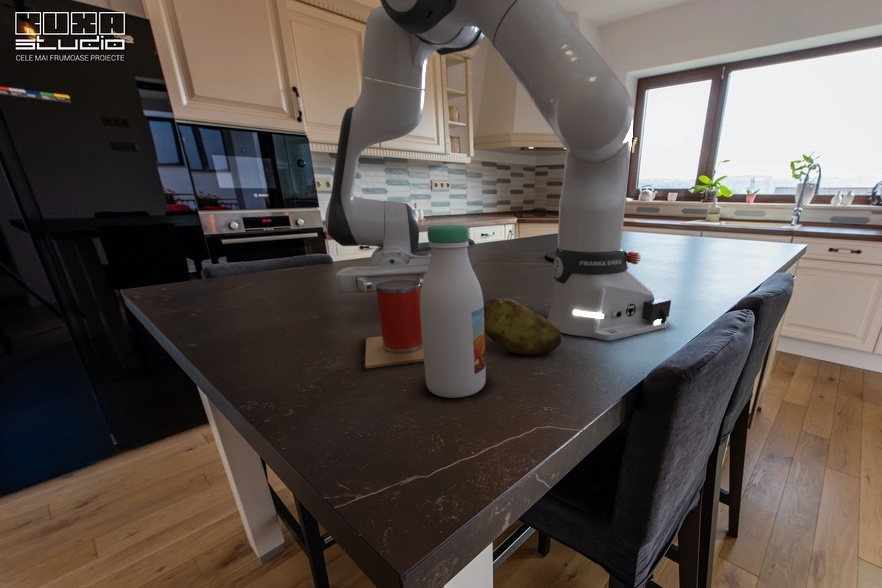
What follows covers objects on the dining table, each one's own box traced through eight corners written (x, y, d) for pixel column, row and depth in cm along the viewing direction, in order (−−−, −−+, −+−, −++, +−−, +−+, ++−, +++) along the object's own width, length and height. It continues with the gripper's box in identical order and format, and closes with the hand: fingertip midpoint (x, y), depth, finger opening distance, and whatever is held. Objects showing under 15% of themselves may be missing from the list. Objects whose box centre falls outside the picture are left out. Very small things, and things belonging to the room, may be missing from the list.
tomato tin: (422, 336, 67) (417, 278, 63) (427, 350, 61) (422, 287, 58) (382, 341, 65) (375, 281, 62) (383, 355, 59) (375, 290, 56)
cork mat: (437, 332, 70) (437, 330, 70) (449, 358, 60) (449, 355, 60) (366, 340, 67) (366, 337, 67) (365, 368, 56) (365, 365, 56)
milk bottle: (460, 405, 46) (452, 230, 39) (413, 389, 50) (397, 226, 43) (497, 380, 53) (495, 225, 45) (452, 368, 56) (444, 222, 49)
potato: (537, 368, 56) (539, 314, 53) (470, 348, 63) (468, 300, 61) (566, 350, 63) (568, 301, 60) (501, 334, 70) (501, 290, 67)
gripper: (335, 258, 77) (329, 271, 65) (440, 253, 83) (452, 264, 71) (340, 290, 79) (335, 308, 67) (442, 283, 85) (454, 298, 73)
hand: (396, 286), depth 69 cm, fingers open, 8 cm apart
